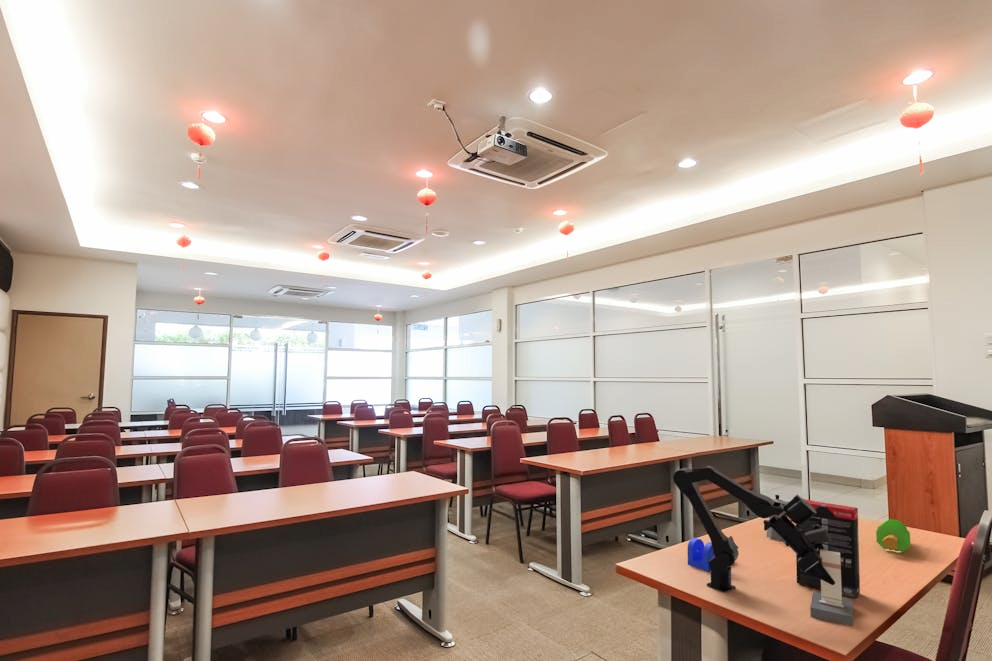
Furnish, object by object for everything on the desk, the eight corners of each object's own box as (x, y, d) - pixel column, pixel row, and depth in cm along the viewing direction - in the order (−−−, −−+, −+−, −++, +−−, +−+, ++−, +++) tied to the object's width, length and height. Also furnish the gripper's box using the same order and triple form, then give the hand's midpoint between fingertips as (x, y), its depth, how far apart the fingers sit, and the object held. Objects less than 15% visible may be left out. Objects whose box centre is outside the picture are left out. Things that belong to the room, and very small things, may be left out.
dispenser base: (810, 616, 151) (810, 604, 151) (813, 599, 162) (813, 588, 163) (852, 626, 145) (852, 613, 145) (852, 608, 157) (852, 596, 157)
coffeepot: (762, 539, 224) (761, 495, 225) (759, 533, 232) (758, 491, 234) (804, 543, 218) (802, 499, 220) (799, 537, 227) (798, 494, 229)
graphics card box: (861, 593, 168) (858, 505, 170) (858, 600, 163) (855, 509, 165) (801, 579, 179) (798, 496, 181) (796, 585, 174) (793, 500, 176)
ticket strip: (821, 609, 154) (819, 551, 156) (821, 606, 156) (819, 549, 158) (842, 614, 152) (840, 554, 153) (842, 611, 153) (840, 552, 155)
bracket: (708, 572, 185) (707, 545, 185) (687, 564, 191) (687, 539, 192) (738, 562, 194) (737, 537, 195) (717, 556, 201) (717, 532, 202)
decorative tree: (880, 522, 207) (886, 506, 230) (868, 547, 209) (875, 529, 232) (915, 539, 200) (917, 520, 223) (902, 565, 202) (906, 544, 225)
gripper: (809, 524, 151) (857, 572, 144) (812, 510, 166) (856, 554, 159) (778, 547, 154) (824, 595, 147) (785, 532, 170) (827, 575, 163)
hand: (834, 579), depth 154 cm, fingers open, 9 cm apart
